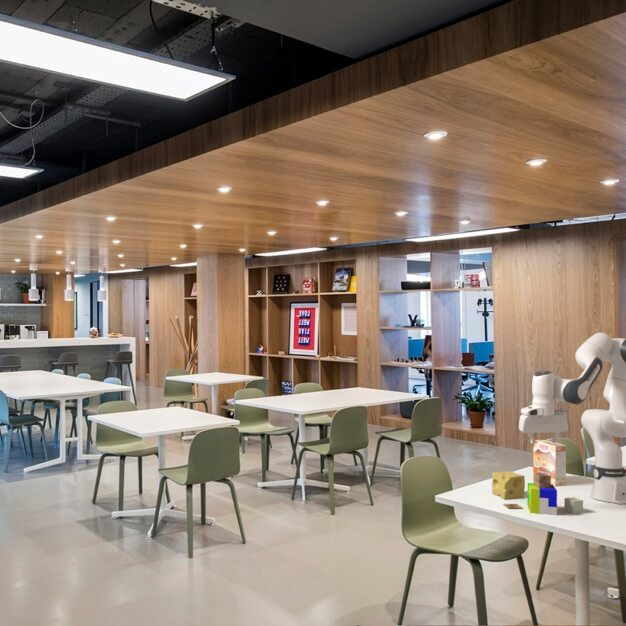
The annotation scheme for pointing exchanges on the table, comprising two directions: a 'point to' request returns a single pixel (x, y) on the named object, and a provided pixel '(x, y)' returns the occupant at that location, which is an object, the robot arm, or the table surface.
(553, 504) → the puzzle toy
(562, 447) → the coffeecake box
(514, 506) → the swatch tile
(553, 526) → the table surface
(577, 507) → the sage block
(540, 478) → the walnut block
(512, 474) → the cheese
